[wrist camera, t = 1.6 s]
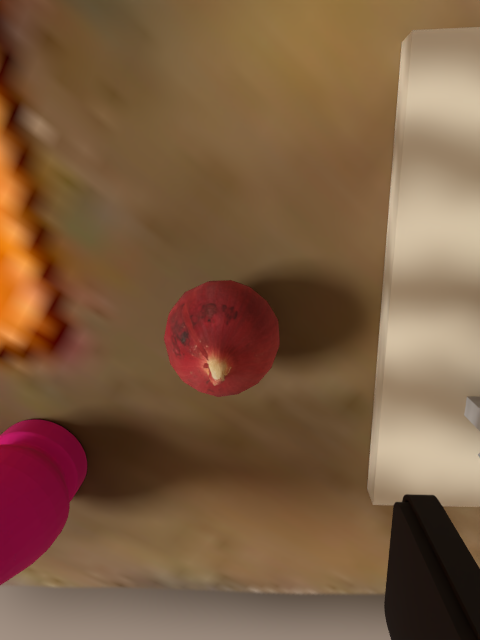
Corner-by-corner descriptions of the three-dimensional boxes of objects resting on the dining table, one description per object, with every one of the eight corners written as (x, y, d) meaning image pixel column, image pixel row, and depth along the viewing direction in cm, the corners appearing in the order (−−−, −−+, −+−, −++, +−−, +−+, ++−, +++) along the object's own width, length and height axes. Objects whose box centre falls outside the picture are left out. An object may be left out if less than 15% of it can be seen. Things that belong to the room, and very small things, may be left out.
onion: (161, 324, 25) (116, 379, 17) (218, 249, 23) (197, 272, 16) (236, 379, 25) (226, 456, 18) (296, 310, 24) (313, 361, 16)
